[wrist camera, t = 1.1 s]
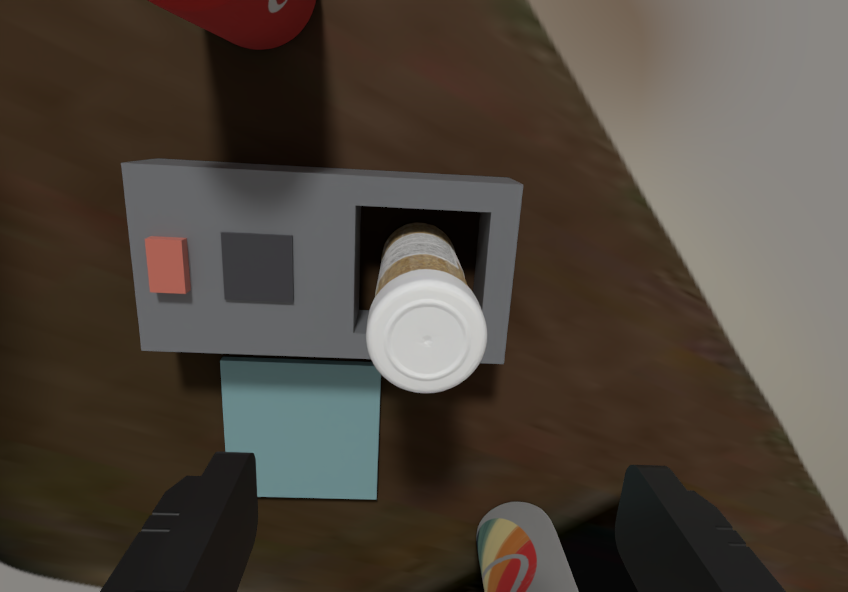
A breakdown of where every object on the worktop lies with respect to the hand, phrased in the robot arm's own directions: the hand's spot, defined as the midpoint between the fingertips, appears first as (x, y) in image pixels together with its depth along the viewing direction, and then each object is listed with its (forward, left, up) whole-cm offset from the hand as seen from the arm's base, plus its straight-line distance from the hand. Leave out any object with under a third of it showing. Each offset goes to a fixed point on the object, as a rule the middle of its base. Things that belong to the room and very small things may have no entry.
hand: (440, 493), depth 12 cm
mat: (-7, -12, -22) cm, 26 cm away
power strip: (-5, 0, -22) cm, 22 cm away
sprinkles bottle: (0, 0, -22) cm, 22 cm away
